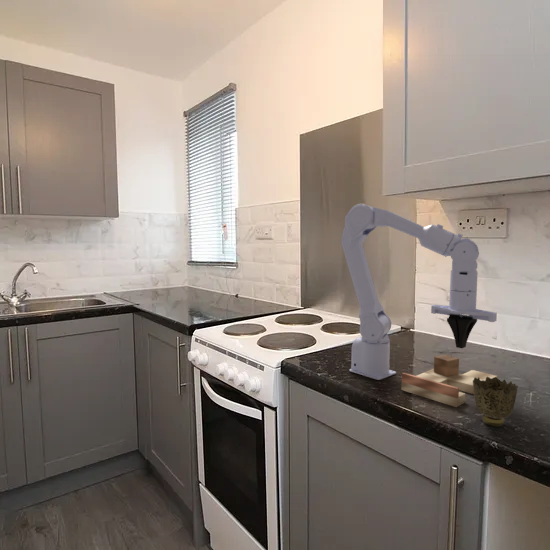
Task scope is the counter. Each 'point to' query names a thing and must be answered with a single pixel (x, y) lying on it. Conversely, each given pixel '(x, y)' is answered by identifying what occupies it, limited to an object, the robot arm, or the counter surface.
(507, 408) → the cup
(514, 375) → the counter surface
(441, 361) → the walnut cube
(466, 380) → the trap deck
